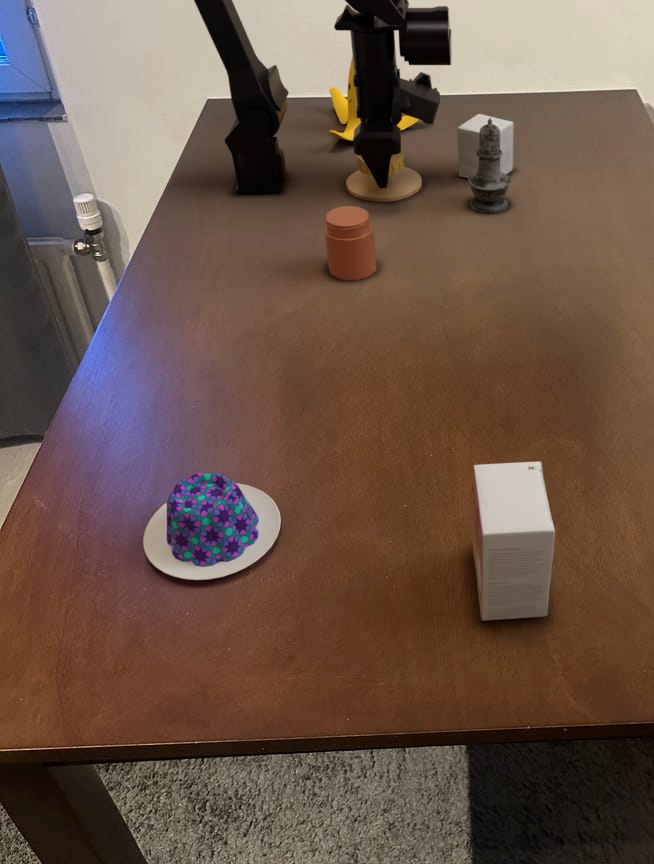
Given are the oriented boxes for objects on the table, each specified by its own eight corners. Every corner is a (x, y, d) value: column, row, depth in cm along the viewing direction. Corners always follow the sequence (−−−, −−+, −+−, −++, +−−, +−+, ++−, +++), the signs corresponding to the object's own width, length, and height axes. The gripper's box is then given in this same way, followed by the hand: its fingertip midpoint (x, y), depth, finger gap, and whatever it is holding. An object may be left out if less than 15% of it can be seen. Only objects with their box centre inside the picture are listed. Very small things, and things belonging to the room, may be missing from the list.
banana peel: (330, 154, 138) (316, 37, 126) (331, 107, 151) (319, -2, 139) (437, 149, 139) (433, 33, 127) (428, 103, 152) (424, -6, 141)
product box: (513, 171, 133) (515, 121, 128) (492, 186, 130) (492, 136, 125) (479, 161, 136) (479, 112, 131) (457, 176, 132) (456, 126, 127)
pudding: (254, 594, 75) (242, 552, 71) (121, 575, 76) (103, 533, 73) (299, 496, 83) (291, 454, 80) (179, 481, 85) (165, 439, 81)
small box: (472, 551, 78) (471, 462, 71) (535, 547, 79) (541, 458, 71) (480, 623, 73) (480, 534, 65) (548, 618, 73) (555, 530, 66)
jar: (327, 281, 111) (320, 228, 106) (330, 257, 115) (323, 205, 110) (376, 279, 111) (371, 226, 106) (377, 255, 115) (372, 203, 110)
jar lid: (405, 156, 131) (404, 143, 129) (404, 176, 126) (403, 163, 125) (359, 157, 131) (358, 144, 129) (356, 177, 126) (355, 164, 124)
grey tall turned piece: (511, 196, 128) (513, 110, 119) (508, 215, 123) (510, 127, 115) (470, 194, 128) (470, 108, 120) (466, 213, 124) (465, 126, 115)
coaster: (344, 202, 126) (343, 198, 126) (348, 169, 134) (348, 165, 134) (421, 201, 126) (421, 197, 126) (422, 167, 134) (421, 163, 134)
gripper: (436, 88, 112) (440, 206, 123) (434, 40, 125) (438, 150, 136) (347, 90, 112) (359, 208, 123) (355, 41, 125) (365, 151, 136)
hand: (383, 177), depth 129 cm, fingers closed on jar lid, 6 cm apart
